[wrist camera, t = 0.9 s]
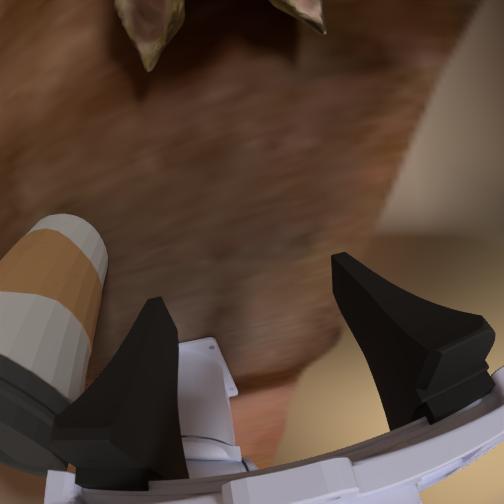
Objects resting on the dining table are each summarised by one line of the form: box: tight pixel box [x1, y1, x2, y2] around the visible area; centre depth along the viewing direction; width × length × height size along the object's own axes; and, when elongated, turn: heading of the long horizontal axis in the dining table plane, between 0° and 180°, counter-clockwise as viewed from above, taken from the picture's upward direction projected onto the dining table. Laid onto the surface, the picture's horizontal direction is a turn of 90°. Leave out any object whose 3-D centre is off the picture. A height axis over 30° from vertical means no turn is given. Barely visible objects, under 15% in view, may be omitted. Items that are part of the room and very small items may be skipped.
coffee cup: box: [0, 214, 108, 476], centre depth 14 cm, size 8×8×15 cm
